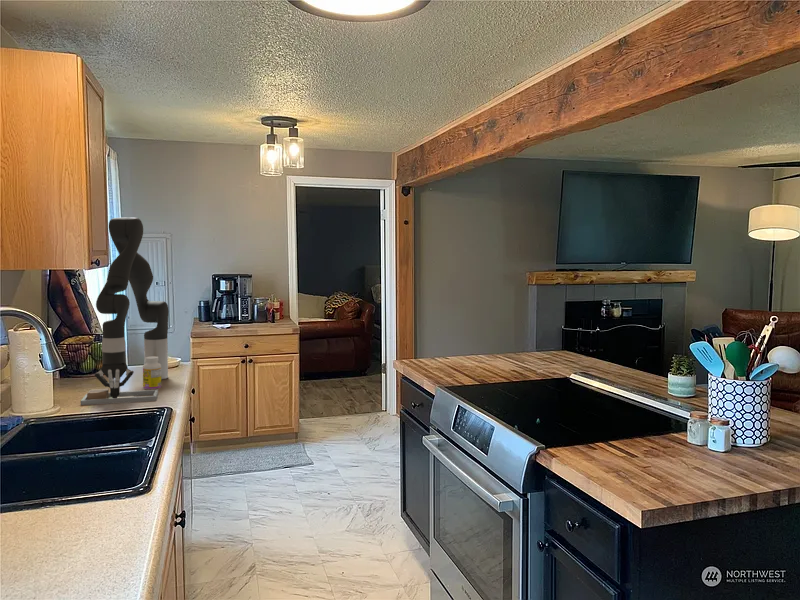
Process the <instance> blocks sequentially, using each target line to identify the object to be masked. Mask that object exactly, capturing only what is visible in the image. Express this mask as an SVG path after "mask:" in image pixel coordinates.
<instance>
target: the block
mask: <svg viewBox="0 0 800 600" xmlns="http://www.w3.org/2000/svg"><path fill="white" fill-rule="evenodd" d="M109 392H110V388H95V389H94V388H93V389H89V391H88V392H87V393H86V394H87V400H91V399H108V398H109Z"/></svg>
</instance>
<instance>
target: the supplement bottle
mask: <svg viewBox="0 0 800 600" xmlns="http://www.w3.org/2000/svg"><path fill="white" fill-rule="evenodd" d="M145 361H146V364H145V363H144V364H143V365H142V388H143V389H144V390H145V389H146V390H157V389H160V388H161V387H162V379H161V364H160V363H158V357H156V356H151V357H146V358H145V357H144V362H145Z"/></svg>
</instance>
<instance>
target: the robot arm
mask: <svg viewBox="0 0 800 600" xmlns="http://www.w3.org/2000/svg"><path fill="white" fill-rule="evenodd" d="M108 231H109V235H110V238H111V239H112V240H111V241H112V242H113V245H114V246H115V249H116V251H117V253H118V255H117V256H116V258H115V259H114V260H113V261H112V262H111V264H110V266H109V269H108V273H107V277H106V282H105V284H104V285H103V288H102V289H101V290H100V293H99V295H98V296H97V299H96V303H95V307H96V310H97V311H98V313H100V314H103V315H116V317H115V318H114V319H109V320H106V321H104V322H103V323H102V343H101V352H102V354H101V355H102V356H101V357H102V364H101V365H102V366H101V368H100V370H99V371H98V372H97V371H96V372H95V374H94V377H95V378H96V379H97V380H98V381H99V382H100V383H101V384H102V385H103V386H104V387H105V388H107V387H108V389H109V392H110V396H111V397H112V398H117V397H118V396H119V394H120V392H121V391H120V388H121V387H123V386H125V384H126V383H127V382H128V381H129V380H130V378H131V377H132V376H133V374H134V373H135V372H134V370H131V369H130V368H128V365H127V351H126V345H127V344H126V337H125V324H126V320H127V315H128V312H129V309H130V303H131V302H130V299H129V298H128V297H129V296H127V295H126V294H124V293H122V292H125V291H126V290H127V288H128V286H129V285H130V287H131V289H132V292H133V296H134V298H135V302H136V307H137V311H138V315H139V317H140V320H141V321H142V322H144V323H152V324H155V323H156V326H155V328H153V329H150V330H147V331H145V332H144V333H143V343H144V345H143V347H144V349H143V350H144V353H143V354H144V359H145V358H146V357H151V356H156V357H158V363H160V364H161V380H167V379H168V378H169V358H168V356H169V354H168V352H169V351H168V350H169V349H168V343H169V342H168V333H169V312H170V311H169V305H168V303H167V302H166V301H162V300H149V299H148V297H147V295H148V292H149V291H150V288H151V286H152V284H153V281H154V275H153V271H152V268H151V266H150V264H149V262H148V261H147V259H145V257H143V255H141V254H140V253H139V252H138V251H139V248H140V245H141V242H142V241H143V236H144V224H143V222H142V220H141V219H140V218H139V217H113V218H111V219H110V220H109V222H108ZM128 284H129V285H128ZM144 364H146V361H145V360H144ZM124 374H125V377H124V379H123V380H122V381H121V377H122V376H123V375H124ZM104 375H105V377H106V378H108V380H107V379H106V378H105V377H104Z"/></svg>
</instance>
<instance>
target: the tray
mask: <svg viewBox="0 0 800 600" xmlns="http://www.w3.org/2000/svg"><path fill="white" fill-rule="evenodd" d="M158 396H159V389H146V390H145V389H144V390H143V389H142V390H130V391H129V390H126V391H120V394H119V396H118V397H117V398H112V397H111V396H110V391H109V398H108V399H91V400H87V393H86V394H84V396H83V398H82V399H81V400H80V406H87V405H89V406H91V405H103V404H104V405H106V404H109V405H110V404H124V403H125V404H126V403H137V402H139V403H140V402H156V401H157V398H158Z"/></svg>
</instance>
